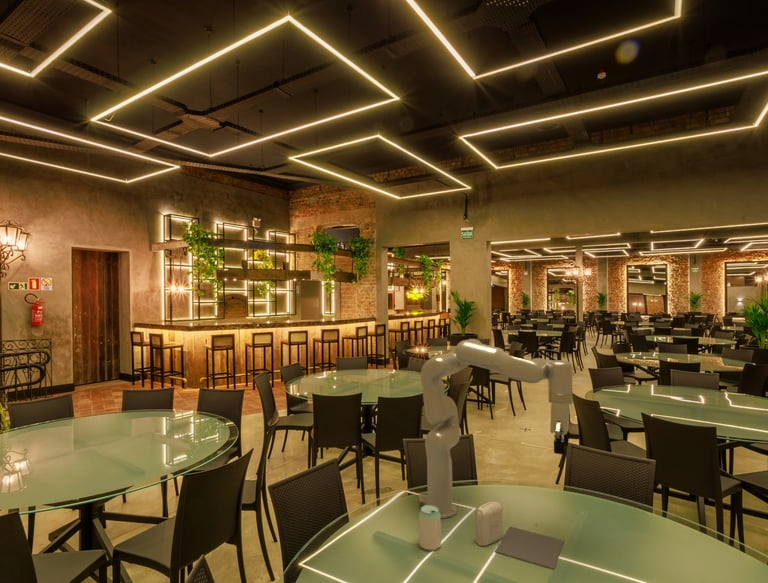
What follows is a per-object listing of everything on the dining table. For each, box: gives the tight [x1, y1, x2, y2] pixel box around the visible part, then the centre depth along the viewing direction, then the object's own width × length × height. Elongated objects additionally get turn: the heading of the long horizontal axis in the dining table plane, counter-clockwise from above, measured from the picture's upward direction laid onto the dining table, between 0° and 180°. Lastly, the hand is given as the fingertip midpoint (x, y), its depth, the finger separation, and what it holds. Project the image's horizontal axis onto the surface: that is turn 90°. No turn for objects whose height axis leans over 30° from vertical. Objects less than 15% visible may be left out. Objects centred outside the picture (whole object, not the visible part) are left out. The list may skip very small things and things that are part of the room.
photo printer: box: [475, 501, 504, 547], centre depth 146 cm, size 10×4×12 cm, turn 124°
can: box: [418, 504, 442, 551], centre depth 143 cm, size 7×7×12 cm
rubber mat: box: [494, 526, 565, 570], centre depth 142 cm, size 18×18×1 cm
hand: (561, 449), depth 145 cm, fingers open, 9 cm apart
